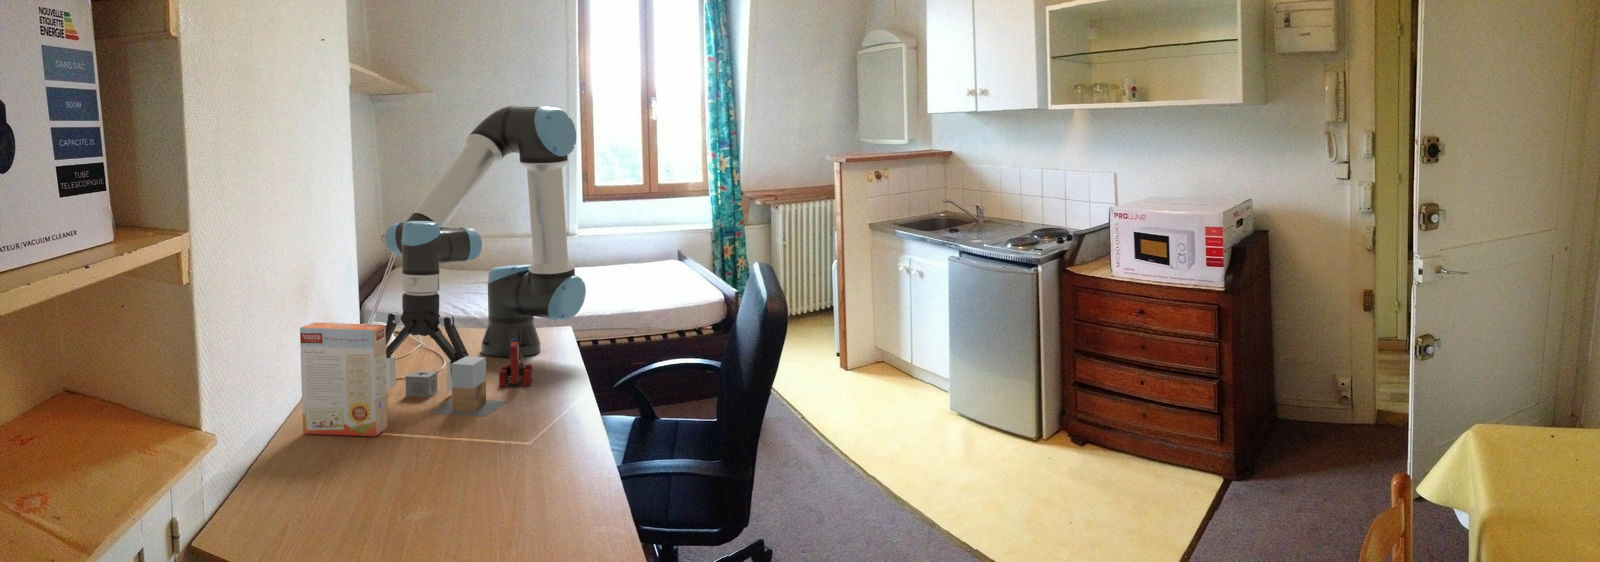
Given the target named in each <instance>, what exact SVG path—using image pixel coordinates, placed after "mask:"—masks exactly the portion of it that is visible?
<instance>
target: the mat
mask: <svg viewBox="0 0 1600 562" xmlns="http://www.w3.org/2000/svg"><path fill="white" fill-rule="evenodd" d="M506 403H508V400H496V399H495V400H494V399H493V400H492V399H486V404H484V405H483V406H481V407H480V408H478V409H477V410H475V411H474V412H464V411H452V398H451V399H449V400H448V401H446V402H445V403H443V404H441V405H440V406H438V407H436V408H434V409H433V410H432V411H430V412H429V414H435V415H436V414H437V415H452V416H465V417H466V416H470V417H483V418H486V417H488V416H489V415H491V414H492V413H493V412H495V411H496V410H498V409H499V408H500V407H502V406H503V405H505V404H506Z"/></svg>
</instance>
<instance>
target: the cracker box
mask: <svg viewBox="0 0 1600 562" xmlns="http://www.w3.org/2000/svg"><path fill="white" fill-rule="evenodd" d="M386 325H387V324H386ZM386 325H385V324H372V323H371V324H367V323H345V322H340V323H339V322H311V323H309V324H306V325H304V326H301V327H299V334H300V336H299V340H300V343H299V345H300V373H301V376H300V377H301V379H300V380H301V405H302V406H301V407H302V408H301V410H302V433H303V434H304V435H322V436H323V435H326V436H349V437H350V436H352V437H354V436H355V437H372V438H373V437H374V438H375V437H377V436H379V435H380V434H382V432H384V431H385V430H387V429H388V428H389V425H388V423H389V422H388V420H389V419H388V418H389V417H388V416H389V415H388V387H387V364H386V348H387V346H386Z"/></svg>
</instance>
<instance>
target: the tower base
mask: <svg viewBox="0 0 1600 562" xmlns="http://www.w3.org/2000/svg"><path fill="white" fill-rule="evenodd" d="M451 399H452V411H464V412H474V411H475V410H477V409H478V408H480V407H481V406H483V405H484V404H486V400H487V380H486V381H484V382H483V383H481V384H480V385H478V386H476V387H475V388H473V389H470V388H454V387H452V391H451Z"/></svg>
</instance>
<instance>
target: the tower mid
mask: <svg viewBox="0 0 1600 562" xmlns="http://www.w3.org/2000/svg"><path fill="white" fill-rule="evenodd" d="M486 359H487V357H481V356H468V357H467V356H466V357H464V358H462V359H460V360H458V361H456V362H454V363H453V364H452V387H454V388H470V389H473V388H475V387H476V386H478V385H480V384H481V383H483V382H484V381H486V382H487V360H486Z"/></svg>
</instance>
